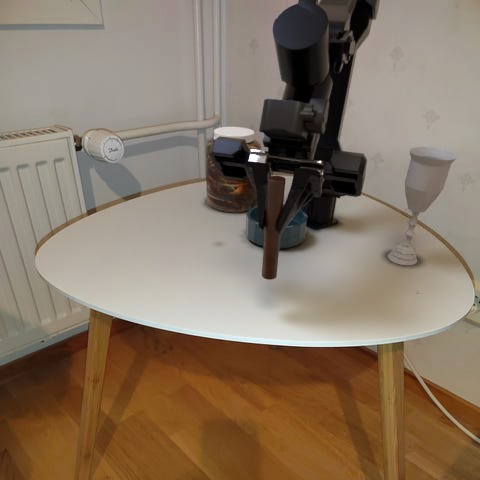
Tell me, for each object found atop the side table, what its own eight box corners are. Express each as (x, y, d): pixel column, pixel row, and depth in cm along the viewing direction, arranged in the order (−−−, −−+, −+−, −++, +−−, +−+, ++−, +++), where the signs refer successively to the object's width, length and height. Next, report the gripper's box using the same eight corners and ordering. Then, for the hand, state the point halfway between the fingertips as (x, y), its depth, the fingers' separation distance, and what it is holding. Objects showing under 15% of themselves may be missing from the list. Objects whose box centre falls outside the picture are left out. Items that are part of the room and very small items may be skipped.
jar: (263, 196, 97) (267, 127, 88) (253, 215, 88) (256, 140, 79) (214, 191, 99) (214, 122, 90) (199, 209, 90) (197, 135, 81)
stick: (270, 270, 57) (278, 174, 49) (279, 277, 56) (289, 179, 48) (258, 274, 56) (264, 177, 48) (267, 281, 55) (274, 182, 47)
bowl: (281, 221, 86) (283, 199, 84) (316, 242, 79) (320, 219, 76) (235, 232, 81) (235, 210, 79) (267, 256, 74) (269, 232, 71)
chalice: (376, 249, 77) (402, 146, 66) (412, 248, 78) (442, 147, 67) (391, 268, 71) (421, 160, 61) (429, 268, 72) (466, 160, 61)
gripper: (214, 60, 47) (175, 188, 45) (384, 71, 42) (349, 215, 40) (237, 122, 58) (206, 227, 56) (375, 137, 53) (346, 253, 51)
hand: (269, 230), depth 51 cm, fingers closed on stick, 2 cm apart
